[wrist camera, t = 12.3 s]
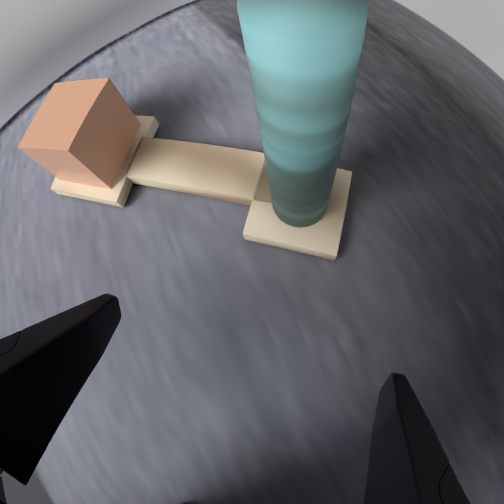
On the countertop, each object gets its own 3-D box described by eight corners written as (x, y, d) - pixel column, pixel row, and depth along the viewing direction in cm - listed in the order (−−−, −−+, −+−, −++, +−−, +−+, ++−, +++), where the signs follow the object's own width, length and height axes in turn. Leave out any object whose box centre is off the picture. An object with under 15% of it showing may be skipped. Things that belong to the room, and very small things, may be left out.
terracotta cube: (111, 189, 19) (67, 150, 14) (60, 180, 20) (17, 147, 15) (141, 124, 20) (109, 77, 15) (89, 122, 21) (55, 83, 16)
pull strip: (334, 260, 17) (417, 92, 5) (56, 197, 21) (-69, 105, 8) (353, 155, 18) (399, -37, 6) (92, 121, 22) (1, 11, 9)
